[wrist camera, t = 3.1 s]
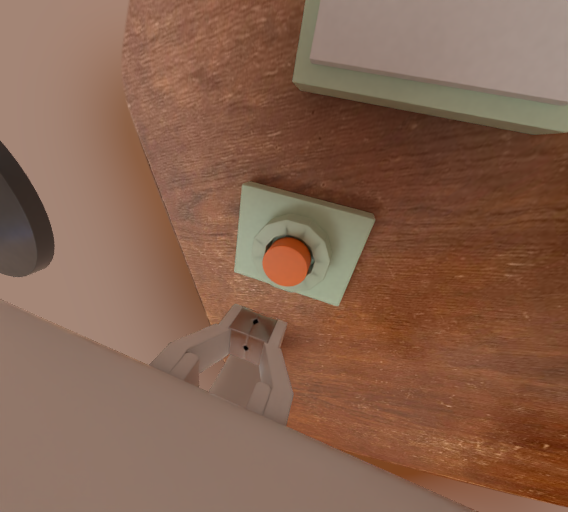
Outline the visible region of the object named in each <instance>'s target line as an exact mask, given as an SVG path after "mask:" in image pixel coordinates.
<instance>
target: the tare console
mask: <svg viewBox="0 0 568 512" xmlns="http://www.w3.org/2000/svg"><path fill="white" fill-rule="evenodd" d="M374 222H375V217H374V214H373V213H369V212H366V211H362V210H358V209H354V208H350V207H346V206H343V205H339V204H335V203H331V202H327V201H324V200H320V199H316V198H312V197H308V196H305V195H301V194H297V193H293V192H289V191H286V190H282V189H278V188H274V187H270V186H267V185H263V184H259V183H255V182H251V181H250V182H247V183H244V184H242V191H241V202H240V213H239V224H238V235H237V246H236V257H235V268H234V272H236V273H239V274H242V275H245V276H248V277H251V278H254V279H257V280H260V281H263V282H266V283H269V284H270V285H272V286H273V287H276V288H279V289H282V290H285V291H288V292H296V293H299V294H302V295H305V296H308V297H311V298H314V299H317V300H320V301H323V302H326V303H329V304H332V305H335V306H339V304H340V302H341V299H342V297H343V295H344V292H345V290H346V288H347V285H348V283H349V281H350V278H351V276H352V274H353V271H354V269H355V266H356V264H357V262H358V259H359V257H360V255H361V252H362V250H363V248H364V245H365V243H366V241H367V238H368V236H369V234H370V231H371V229H372V227H373V224H374ZM284 237H291V238H295V239H298V240H300V241H301V242H302V243H304V244H305V245H306V247H307V248H308V250H309V252H310V255H311V263H310V266H309V269H308V272H307V275H306V277H305V279H304V280H303V281H302V282H301V283H299V284H298V285H295V286H290V287H286V286H281V285H278V284H276V283H274V282H273V281H271V280H270V279H269V278H268V277H267V275H266V274H265V272H264V269H263V265H262V261H263V257H264V254H265V253H266V252H267V250H268V249H269V248H270V247H271V245H272V244H273V243H274V242H275V241H276V240H278V239H280V238H284Z"/></svg>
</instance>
